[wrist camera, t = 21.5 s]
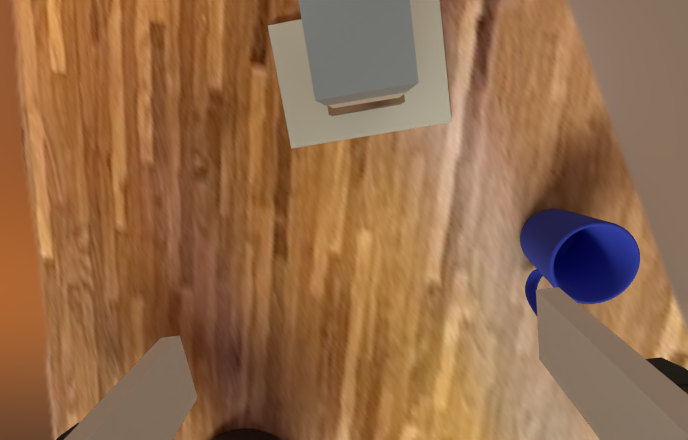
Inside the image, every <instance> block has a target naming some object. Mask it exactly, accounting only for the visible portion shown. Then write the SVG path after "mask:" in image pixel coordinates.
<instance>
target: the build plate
mask: <svg viewBox="0 0 688 440" xmlns="http://www.w3.org/2000/svg"><path fill="white" fill-rule="evenodd" d="M410 7H411V16H412V25H413V35H414V44H415V53H416V63H417V72H418V81H419V83H418V84H416V85H415V86H414V87H413V88H411V89H410V90H409V91H407V92H406V93H405V94H404V97H405V102H404V103H402V104H400V105H395V106H389V107H383V108H377V109H371V110H366V111H360V112H354V113H348V114H342V115H336V116H331V115H329V113H328V107H327V106H325V105H323V104H321V103H319V102H317V101H316V100H315V97H314V91H313V85H312V79H311V73H310V67H309V61H308V55H307V49H306V43H305V37H304V31H303V25H302V19H299V20H294V21H289V22H284V23H278V24H273V25H268V30H269V35H270V40H271V45H272V50H273V56H274V61H275V66H276V71H277V77H278V82H279V87H280V92H281V97H282V103H283V108H284V113H285V118H286V123H287V129H288V134H289V139H290V144H291V149H292V148H298V147H304V146H310V145H316V144H322V143H328V142H334V141H340V140H346V139H352V138H358V137H364V136H370V135H376V134H383V133H389V132H395V131H401V130H407V129H413V128H419V127H425V126H431V125H437V124H443V123H449V122H451V113H450V103H449V92H448V82H447V72H446V62H445V51H444V41H443V31H442V20H441V10H440V0H410Z"/></svg>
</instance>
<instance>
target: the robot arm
mask: <svg viewBox="0 0 688 440" xmlns="http://www.w3.org/2000/svg"><path fill="white" fill-rule="evenodd" d="M536 302H537V320H538V339H539V357H540V360H541V362H542V363H543V364H544V366H545V367H546V368H547V370H548V371H549V372H550V374H551V375H552V376H553V378H554V379H555V380H556V382H557V383H558V384H559V386H560V387H561V388H562V390H563V391H564V392H565V394H566V395H567V396H568V398H569V399H570V400H571V402H572V403H573V404H574V406H575V407H576V408H577V409H578V411H579V412H580V413H581V415H582V416H583V417H584V419H585V420H586V421H587V423H588V424H589V425H590V427H591V428H592V429H593V431H594V432H595V433H596V435H597V436H598V437H599V439H600V440H688V370H686V369H685V368H683V367H681V366H679V365H676V364H674V363H672V362H670V361H668V360H666V359H663V358H652V359H644V358H643V357H642V356H641V355H640V354H638V353H637V352H636V351H635V350H634V349H632V348H631V347H630V346H629V345H628V344H626V343H625V342H624V341H623V340H622V339H620V338H619V337H618V336H617V335H616V334H614V333H613V332H612V331H611V330H609V329H608V328H607V327H606V326H605V325H603V324H602V323H601V322H600V321H599V320H597V319H596V318H595V317H594V316H593V315H591V314H590V313H589V312H588V311H587V310H585V309H584V308H583V307H582V306H581V305H579V304H578V303H577V302H576V301H575V300H573V299H572V298H571V297H570V296H568V295H567V294H566V293H565V292H564V291H562V290H561V289H560V288H559V287H556V288H548V289H540V290H536ZM197 398H198V397H197V394H196V390H195V387H194V383H193V380H192V376H191V373H190V369H189V366H188V362H187V359H186V355H185V352H184V348H183V345H182V341H181V338H180V335H179V336H171V337H164V338H160V339H159V340H158V341H157V342H156V343H155V344H154V345H153V346H152V347H151V349H150V350H149V351H148V352H147V353H146V354H145V355H144V356H143V357H142V358H141V359H140V360H139V361H138V362H137V363H136V364H135V365H134V366H133V367H132V368H131V370H130V371H129V372H128V373H127V374H126V375H125V376H124V377H123V378H122V379H121V380H120V381H119V382H118V383H117V384H116V385H115V386H114V387H113V388H112V390H111V391H110V392H109V393H108V394H107V395H106V396H105V397H104V398H103V399H102V400H101V401H100V402H99V403H98V404H97V405H96V406H95V407H94V408H93V409H92V411H91V412H90V413H89V414H88V415H87V416H86V417H85V418H84V419H83V420H82V421H81V422H80V423H77V424H76V425H75V426H73V427H72V428H70V429H69V430H68V431H66V432H65V433H64V434H62V435H61V436H59V437H58V438H57V439H56V440H172V439H173V438H174V436H175V435H176V433H177V431H178V430H179V428H180V426H181V425H182V423H183V421H184V420H185V418H186V416H187V415H188V413H189V411H190V410H191V408H192V406H193V405H194V403H195V402H196V400H197ZM213 440H280V439H278V438H276V437H274V436H272V435H270V434H268V433H265V432H261V431H257V430H249V429H241V430H233V431H229V432H226V433H224V434H221V435H219V436H218V437H216V438H214V439H213Z"/></svg>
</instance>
